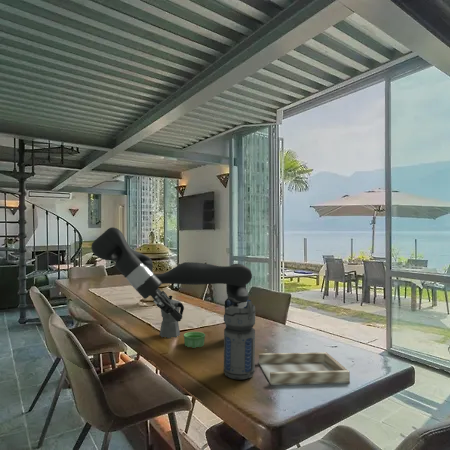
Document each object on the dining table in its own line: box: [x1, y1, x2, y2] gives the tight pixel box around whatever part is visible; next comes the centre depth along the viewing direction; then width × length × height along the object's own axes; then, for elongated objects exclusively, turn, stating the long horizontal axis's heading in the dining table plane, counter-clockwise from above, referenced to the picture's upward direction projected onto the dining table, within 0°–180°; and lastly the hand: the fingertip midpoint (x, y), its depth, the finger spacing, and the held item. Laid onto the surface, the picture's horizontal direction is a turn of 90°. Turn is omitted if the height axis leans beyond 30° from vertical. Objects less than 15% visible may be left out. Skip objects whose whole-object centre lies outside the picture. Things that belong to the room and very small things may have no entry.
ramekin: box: [183, 331, 206, 349], centre depth 144 cm, size 9×9×4 cm
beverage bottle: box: [223, 297, 256, 381], centre depth 115 cm, size 10×13×25 cm
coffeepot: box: [159, 295, 185, 339], centre depth 157 cm, size 15×9×18 cm, turn 49°
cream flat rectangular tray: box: [258, 351, 351, 386], centre depth 116 cm, size 25×18×4 cm
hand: (180, 319), depth 113 cm, fingers closed
